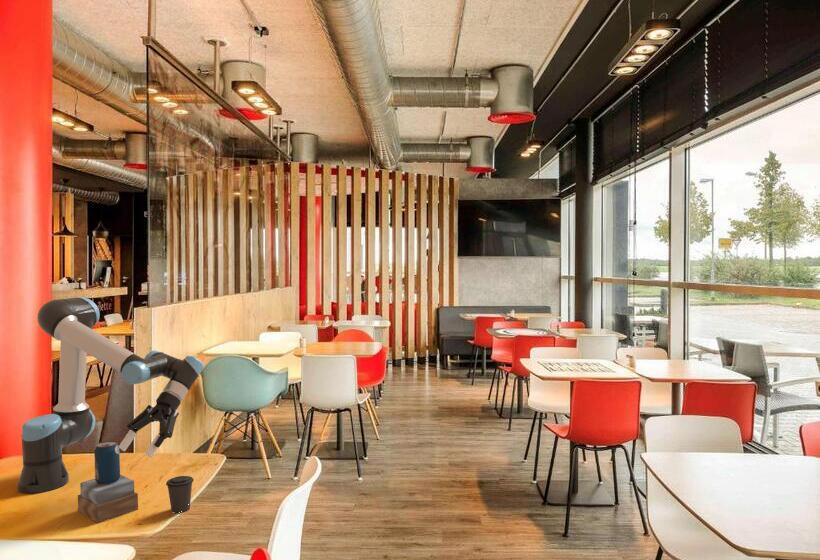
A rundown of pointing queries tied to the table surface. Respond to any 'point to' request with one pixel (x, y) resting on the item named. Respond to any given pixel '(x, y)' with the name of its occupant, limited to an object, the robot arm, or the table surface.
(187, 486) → the coffee cup
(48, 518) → the table surface
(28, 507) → the table surface
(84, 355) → the robot arm
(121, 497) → the two-tone square slab
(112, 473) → the soda can
